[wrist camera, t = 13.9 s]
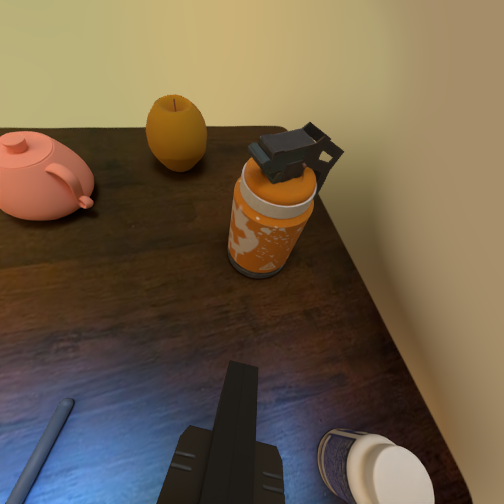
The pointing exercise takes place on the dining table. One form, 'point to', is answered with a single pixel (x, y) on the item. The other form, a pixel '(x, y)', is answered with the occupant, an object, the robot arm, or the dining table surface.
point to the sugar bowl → (41, 177)
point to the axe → (40, 453)
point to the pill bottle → (372, 470)
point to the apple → (176, 132)
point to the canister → (276, 198)
